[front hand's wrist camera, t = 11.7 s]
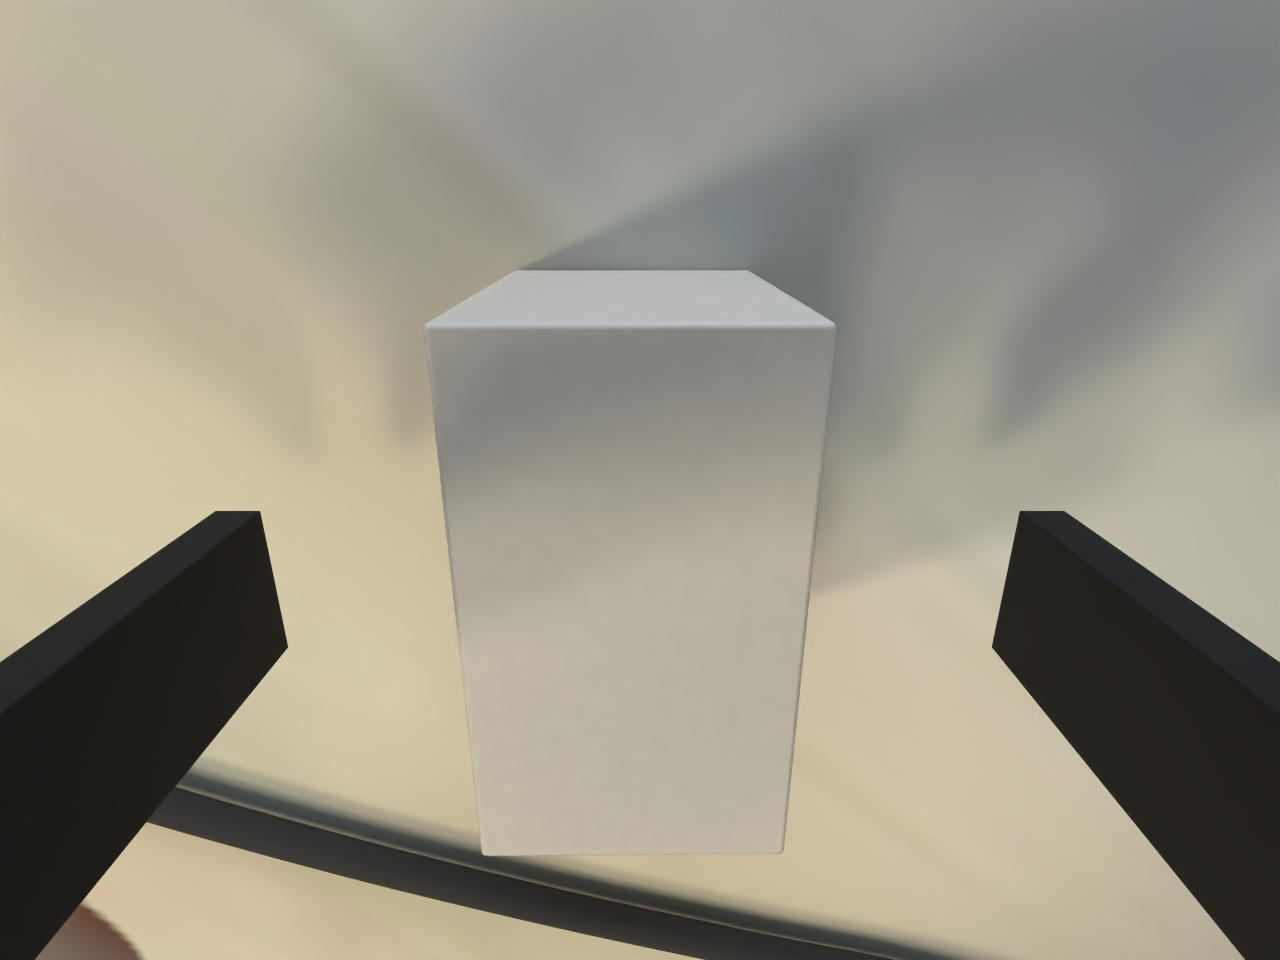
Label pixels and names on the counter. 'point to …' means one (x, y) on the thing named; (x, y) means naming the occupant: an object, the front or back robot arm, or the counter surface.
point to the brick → (631, 552)
